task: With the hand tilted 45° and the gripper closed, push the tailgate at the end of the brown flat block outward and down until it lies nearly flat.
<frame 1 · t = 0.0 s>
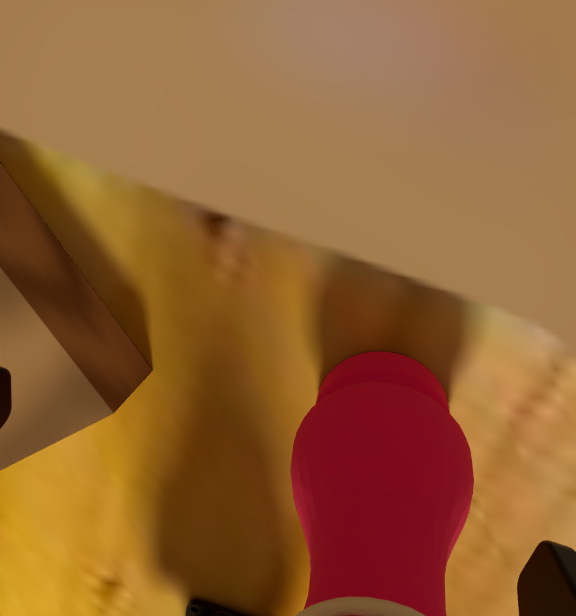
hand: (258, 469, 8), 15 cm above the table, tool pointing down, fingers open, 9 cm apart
pepper mill: (381, 404, 24), on the table
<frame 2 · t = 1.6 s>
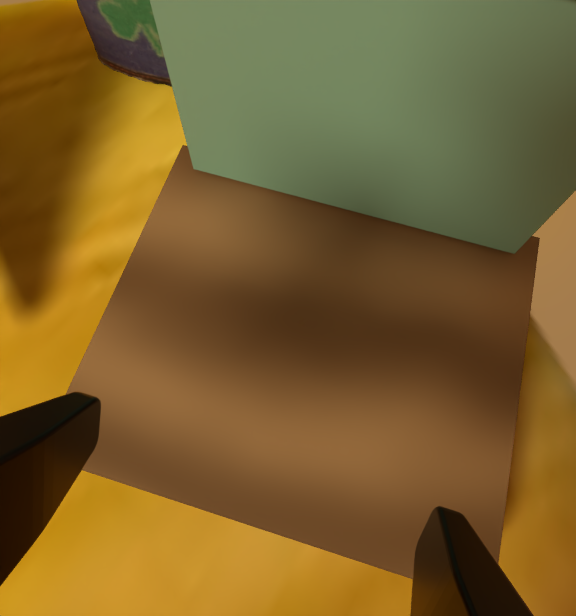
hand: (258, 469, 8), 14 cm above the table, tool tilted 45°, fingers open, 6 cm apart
tailgate: (377, 95, 16), point 10 cm above the table, hinge at 0.0°
brown flat block: (306, 363, 23), on the table
flask: (170, 69, 29), on the table
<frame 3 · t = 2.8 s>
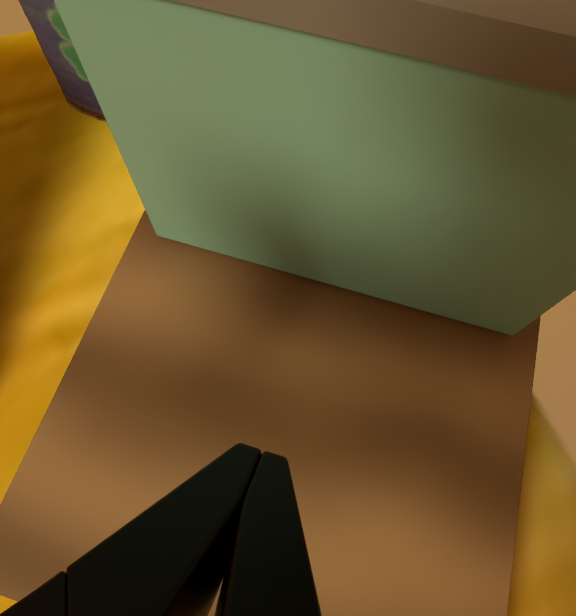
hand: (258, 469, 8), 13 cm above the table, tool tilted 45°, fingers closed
tailgate: (355, 176, 13), point 10 cm above the table, hinge at 0.0°
brown flat block: (282, 447, 20), on the table
flask: (143, 112, 27), on the table
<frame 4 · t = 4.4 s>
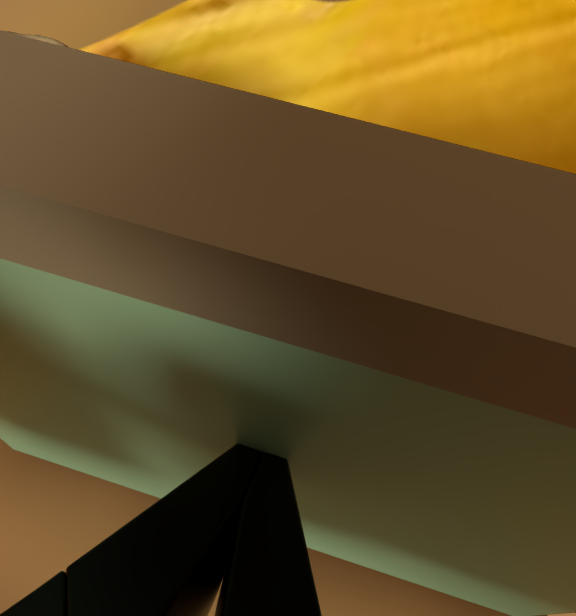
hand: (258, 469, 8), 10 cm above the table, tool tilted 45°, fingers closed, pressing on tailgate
tailgate: (271, 433, 9), point 10 cm above the table, hinge at 12.2°, touching gripper
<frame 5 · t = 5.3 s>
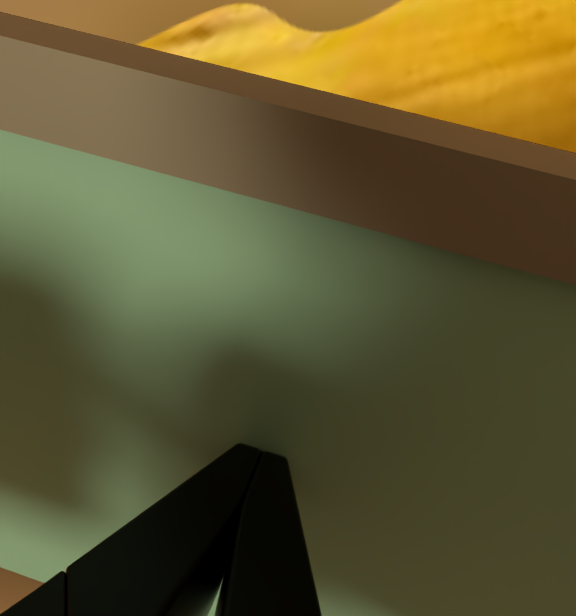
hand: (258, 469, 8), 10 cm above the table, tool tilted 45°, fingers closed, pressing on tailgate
tailgate: (265, 451, 9), point 9 cm above the table, hinge at 35.8°, touching gripper
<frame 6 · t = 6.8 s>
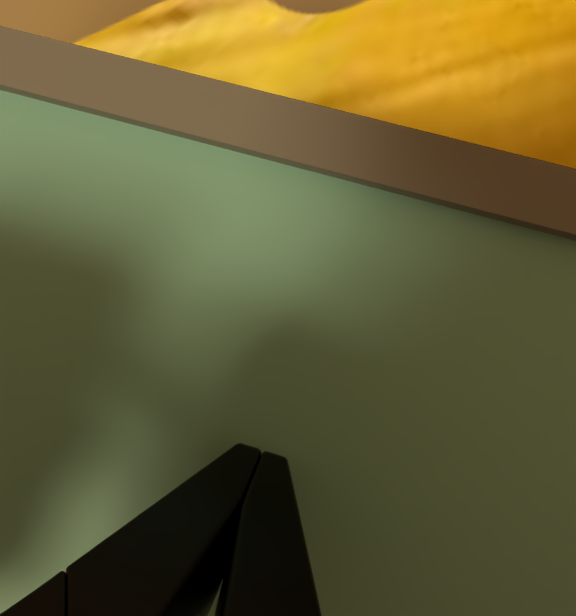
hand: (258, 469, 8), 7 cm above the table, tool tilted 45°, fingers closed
tailgate: (268, 443, 9), point 7 cm above the table, hinge at 68.8°
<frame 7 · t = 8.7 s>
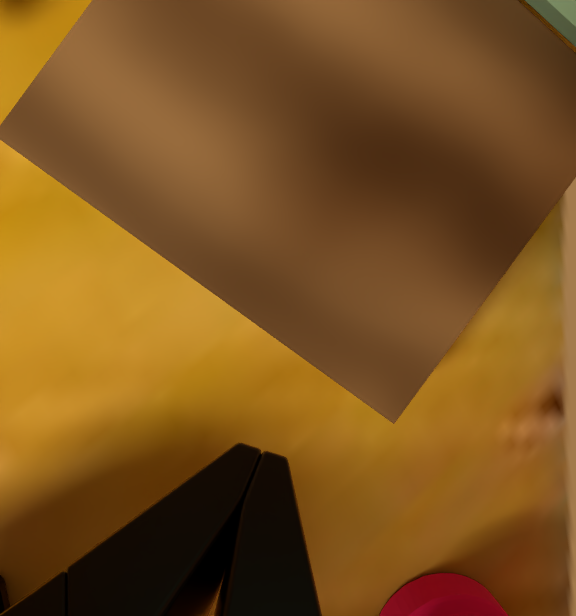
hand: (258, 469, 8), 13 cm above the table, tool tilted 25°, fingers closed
brown flat block: (313, 147, 20), on the table
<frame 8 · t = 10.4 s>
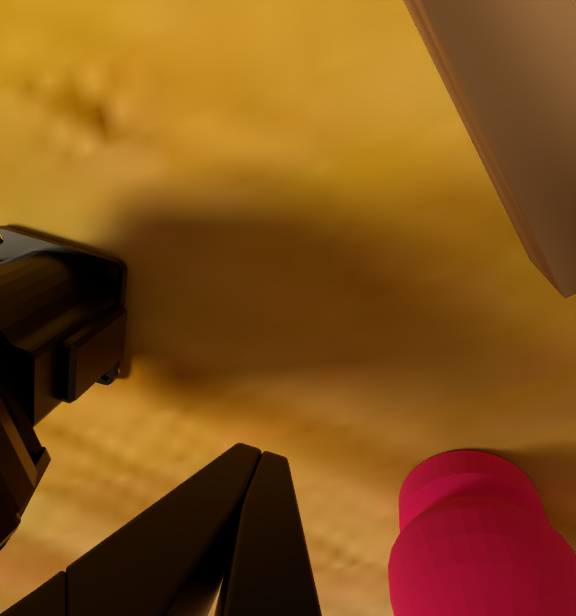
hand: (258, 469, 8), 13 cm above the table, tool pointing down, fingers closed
pepper mill: (466, 499, 23), on the table
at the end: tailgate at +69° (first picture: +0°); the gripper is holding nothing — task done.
